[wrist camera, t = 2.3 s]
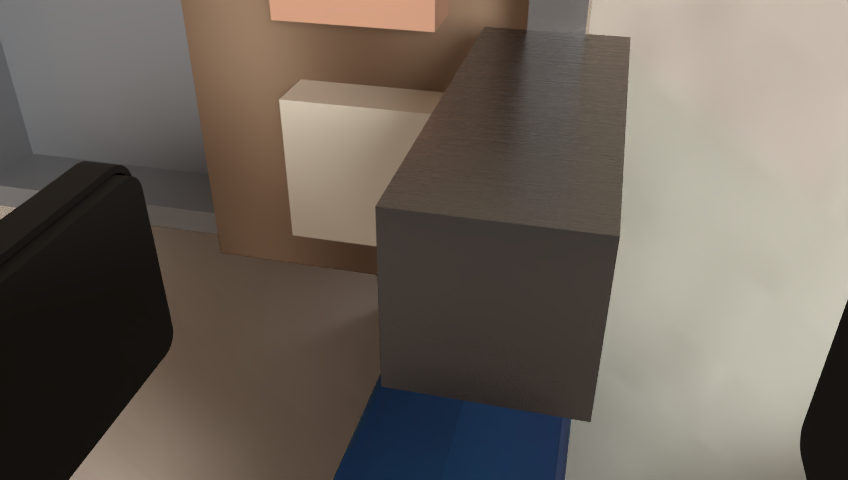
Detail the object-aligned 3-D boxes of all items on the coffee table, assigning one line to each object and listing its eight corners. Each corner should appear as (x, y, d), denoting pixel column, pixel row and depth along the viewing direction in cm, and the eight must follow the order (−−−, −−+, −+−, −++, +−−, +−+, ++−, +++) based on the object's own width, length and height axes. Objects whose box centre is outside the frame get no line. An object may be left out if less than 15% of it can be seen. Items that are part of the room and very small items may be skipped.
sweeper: (664, -222, 15) (689, -203, 7) (593, 281, 22) (559, 617, 13) (512, -224, 16) (360, -208, 7) (486, 267, 22) (388, 579, 14)
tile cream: (446, 92, 20) (433, 114, 19) (444, 226, 22) (432, 253, 21) (300, 79, 21) (279, 99, 20) (311, 209, 23) (292, 235, 22)
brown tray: (603, -275, 19) (593, -283, 15) (551, 228, 26) (537, 297, 23) (218, -272, 21) (136, -280, 17) (271, 194, 28) (221, 252, 25)
